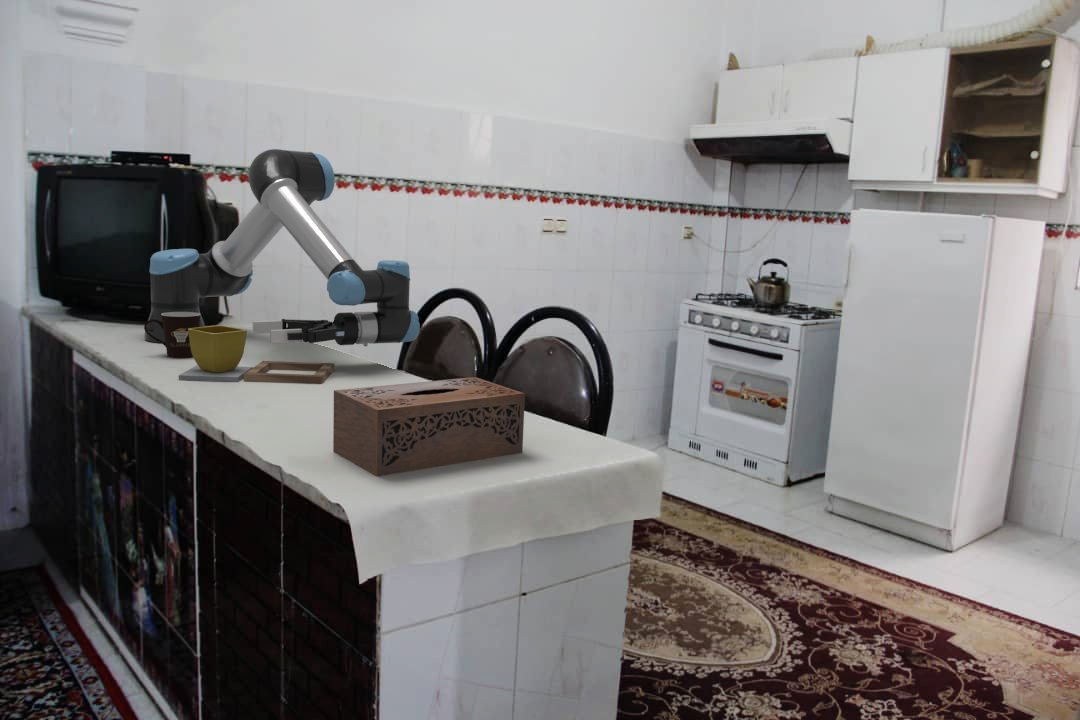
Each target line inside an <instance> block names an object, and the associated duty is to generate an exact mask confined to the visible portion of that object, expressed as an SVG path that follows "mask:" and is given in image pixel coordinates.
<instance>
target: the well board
mask: <svg viewBox="0 0 1080 720" xmlns="http://www.w3.org/2000/svg"><path fill="white" fill-rule="evenodd" d="M252 367H253V368H252V369H251V370H249V371H248V372H246V373H245V374H244V378H243V382H256V383H259V382H260V383H283V384H284V383H287V384H313V385H314V384H317V385H320V384H321V385H322V384H323V382H325V380H327V378H328V377H329V376H330V375H331V374H332V373H333V372H334V371H335V363H334V362H333V363H332V362H306V361H280V360H279V361H278V360H277V361H276V360H275V361H274V360H273V361H272V360H262V361H260V362H259V363H258V364H256V365H255V366H252ZM270 370H275V371H276V370H278V371H280V370H282V371H310V372H315V373H314V374H310V373H308V374H306V373H305V374H303V373H301V374H300V373H279V372H278V373H274V372H268V371H270Z"/></svg>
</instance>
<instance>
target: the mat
mask: <svg viewBox="0 0 1080 720" xmlns="http://www.w3.org/2000/svg"><path fill="white" fill-rule="evenodd" d="M253 367H254V366H243V365H242V366H241V365H237V367H236V368H235V369H234V370H231V371H223V372H218V373H215V372H211V371H207V370H202V369H200V367H199V366H198V365H197V364H196V365H194V366H193V367H191V368H190V369H187V370H186V371H184V372H182V373H180V374H178V381H196V382H197V381H198V382H200V381H201V382H222V383H223V382H224V383H225V382H232V383H238V382H240V381H242V380H244V374H245V373H246V372H248V371H249V370H251V369H252V368H253Z"/></svg>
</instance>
